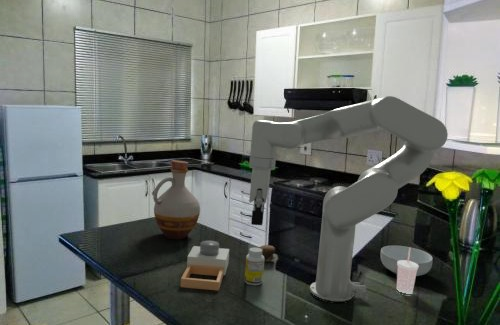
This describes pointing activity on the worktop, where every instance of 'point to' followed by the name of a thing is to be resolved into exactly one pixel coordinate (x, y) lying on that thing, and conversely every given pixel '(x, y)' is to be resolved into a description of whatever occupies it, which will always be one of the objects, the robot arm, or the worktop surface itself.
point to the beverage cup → (406, 275)
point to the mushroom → (267, 252)
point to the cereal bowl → (405, 258)
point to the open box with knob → (206, 265)
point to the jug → (176, 204)
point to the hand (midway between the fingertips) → (257, 220)
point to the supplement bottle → (254, 267)
